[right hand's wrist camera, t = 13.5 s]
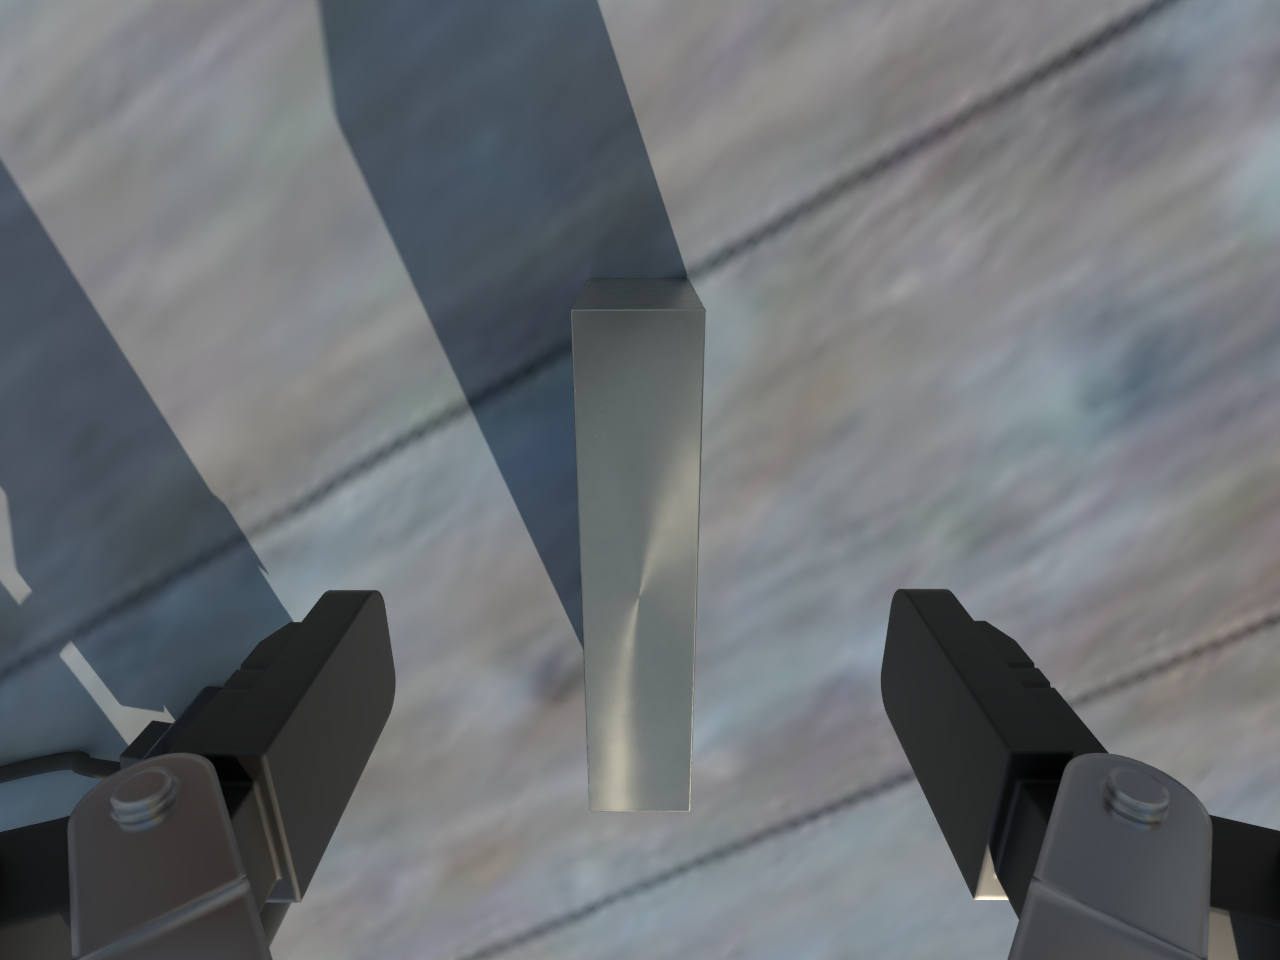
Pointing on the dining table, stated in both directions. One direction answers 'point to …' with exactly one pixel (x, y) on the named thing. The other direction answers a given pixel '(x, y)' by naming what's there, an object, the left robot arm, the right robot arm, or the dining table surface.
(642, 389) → the bar
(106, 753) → the dining table surface
